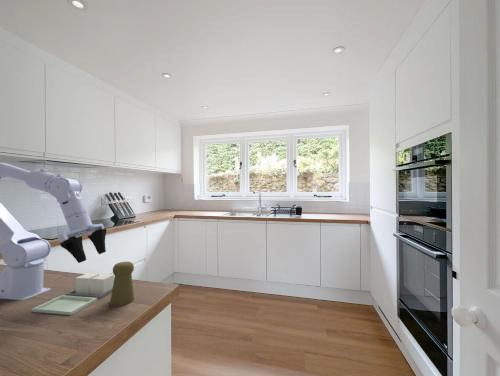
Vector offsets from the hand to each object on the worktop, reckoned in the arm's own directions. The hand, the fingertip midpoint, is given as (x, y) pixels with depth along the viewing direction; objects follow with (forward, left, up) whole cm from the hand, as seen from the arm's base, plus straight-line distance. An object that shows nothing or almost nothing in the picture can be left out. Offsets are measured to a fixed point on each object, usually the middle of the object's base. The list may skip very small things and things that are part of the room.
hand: (93, 257), depth 71 cm
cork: (+13, -4, -11) cm, 18 cm away
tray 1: (0, -9, -11) cm, 14 cm away
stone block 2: (+3, +1, -10) cm, 11 cm away
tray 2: (0, +1, -11) cm, 11 cm away
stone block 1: (-2, +1, -10) cm, 11 cm away
